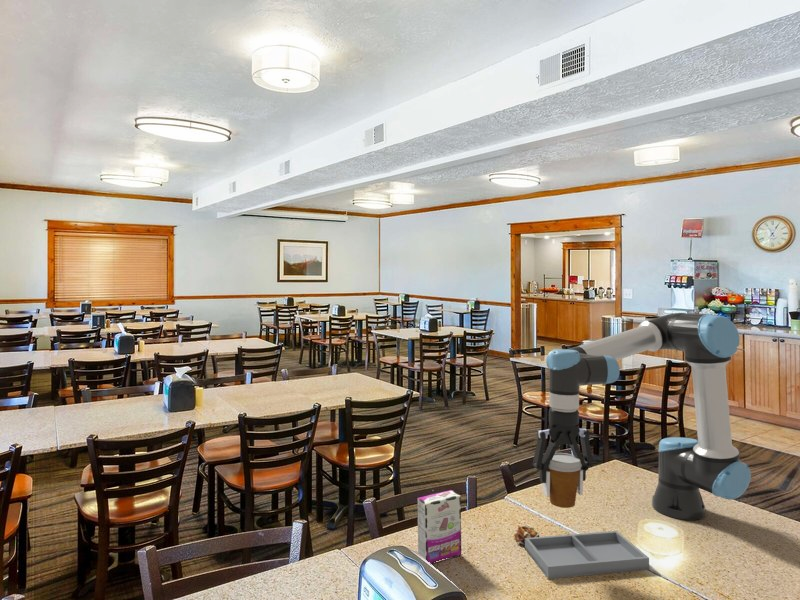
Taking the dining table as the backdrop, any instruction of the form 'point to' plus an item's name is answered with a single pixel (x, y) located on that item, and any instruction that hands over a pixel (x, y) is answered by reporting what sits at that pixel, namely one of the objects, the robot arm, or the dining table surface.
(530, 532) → the brown lumpy cluster
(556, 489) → the disposable coffee cup
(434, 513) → the candy bar box
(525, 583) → the dining table surface
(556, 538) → the gray divided tray
